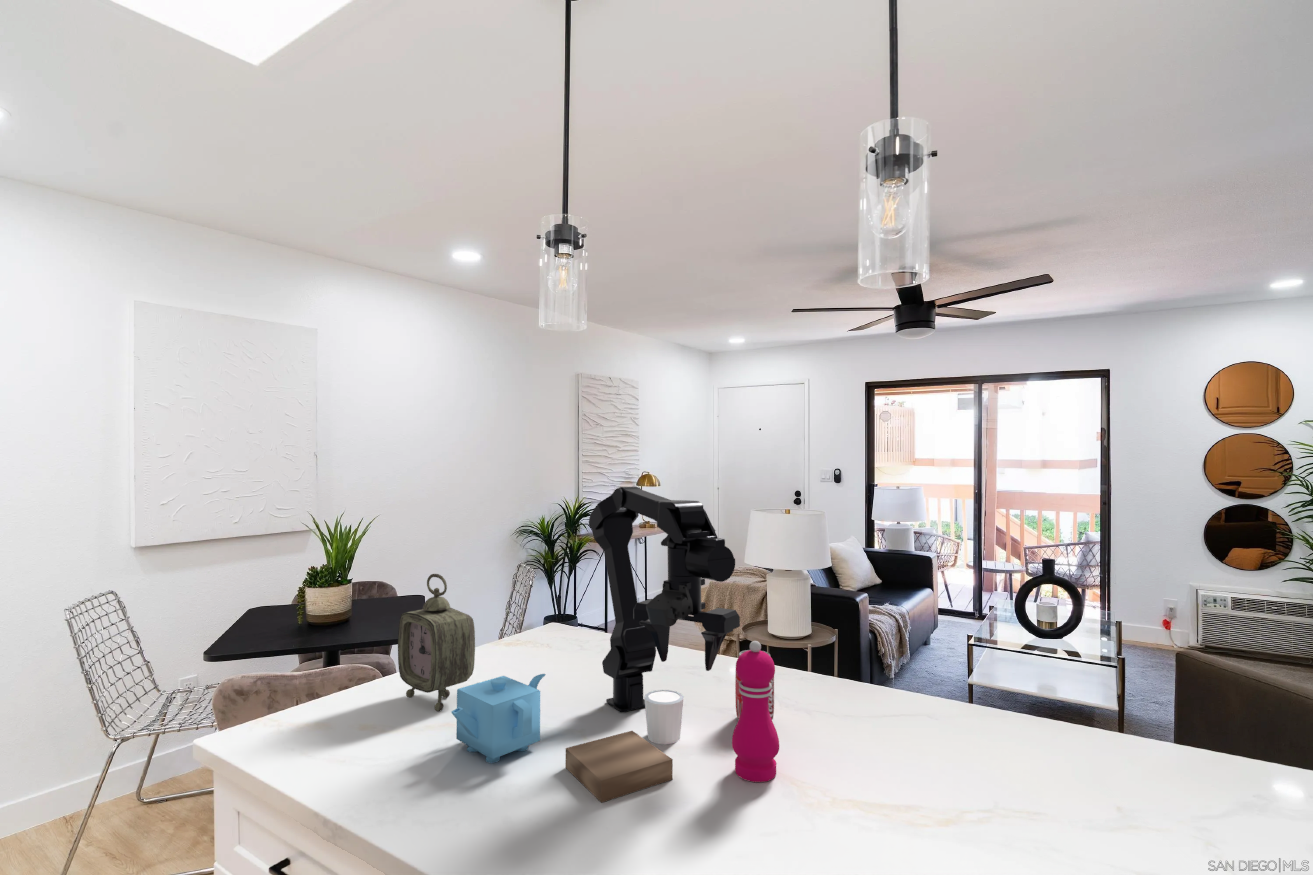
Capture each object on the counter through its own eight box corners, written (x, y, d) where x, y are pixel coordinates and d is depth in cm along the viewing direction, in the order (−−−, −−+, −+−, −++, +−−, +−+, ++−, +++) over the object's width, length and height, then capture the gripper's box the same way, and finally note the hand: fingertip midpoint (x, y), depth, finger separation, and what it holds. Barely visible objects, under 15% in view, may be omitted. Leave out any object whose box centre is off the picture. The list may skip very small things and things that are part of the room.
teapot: (427, 750, 106) (428, 681, 106) (519, 718, 119) (520, 656, 119) (480, 784, 95) (481, 707, 95) (574, 744, 108) (575, 676, 108)
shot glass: (642, 729, 114) (643, 689, 114) (681, 727, 115) (681, 688, 115) (645, 746, 107) (645, 704, 108) (686, 745, 108) (686, 702, 108)
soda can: (772, 713, 121) (772, 649, 122) (775, 728, 114) (775, 660, 115) (735, 711, 122) (734, 648, 122) (736, 727, 115) (735, 659, 115)
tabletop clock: (397, 697, 129) (398, 572, 130) (438, 685, 136) (439, 566, 136) (435, 717, 119) (437, 581, 120) (477, 702, 126) (478, 574, 127)
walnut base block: (565, 767, 100) (565, 747, 100) (632, 748, 106) (632, 730, 106) (601, 802, 90) (601, 780, 90) (672, 779, 96) (672, 759, 96)
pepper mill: (782, 765, 101) (782, 636, 101) (775, 787, 94) (775, 649, 95) (737, 758, 103) (737, 632, 104) (727, 779, 96) (727, 644, 97)
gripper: (612, 575, 110) (613, 668, 109) (705, 586, 99) (707, 689, 98) (651, 567, 119) (652, 652, 118) (740, 576, 108) (742, 670, 107)
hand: (685, 665), depth 110 cm, fingers open, 9 cm apart
